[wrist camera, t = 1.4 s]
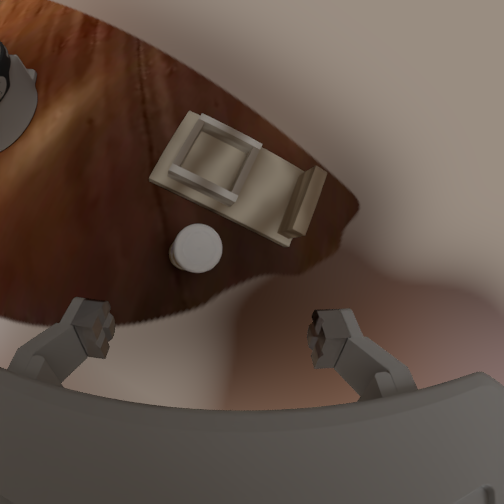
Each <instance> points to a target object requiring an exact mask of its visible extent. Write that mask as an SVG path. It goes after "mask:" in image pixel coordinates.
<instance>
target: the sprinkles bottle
mask: <svg viewBox="0 0 504 504" xmlns="http://www.w3.org/2000/svg"><path fill="white" fill-rule="evenodd" d="M221 255H222V242H221V239H220V237H219V235H218V234H217V232H216V231H215V230H214V229H213V228H211V227H209V226H207V225H204V224H192V225H189V226H187V227H185V228H184V229H183V230H182V231H180V233H179V234H178V235H177V237H176V239H175V241H174V242H173V243H172V245H171V246H170V250H169V257H170V260H171V262H172V264H173V265H174V266H175V267H177V268H178V269H181V270H187V271H189V272H193V273H202V272H206V271H208V270H210V269H212V268H213V267H214V266H215V265H216V264H217V263H218V262H219V260H220V258H221Z"/></svg>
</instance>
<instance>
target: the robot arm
mask: <svg viewBox="0 0 504 504" xmlns="http://www.w3.org/2000/svg"><path fill="white" fill-rule="evenodd" d="M36 77H37V73H36V71H35V70H34V69H26V68H25V66H24V65H23V63H22V62H21V60H20V59H19V57H18V56H17V55H9V54H8V51H7V49H6V47H5V46H4V45H3V44H2V42H1V41H0V151H2V150H4V149H5V148H7V147H8V146H10V145H11V144H12V143H13V142H14V141H15V140H16V139H17V138H18V137H19V136H20V135H21V134H22V133H23V131H24V130H25V129H26V127H27V126H28V124H29V122H30V121H31V119H32V117H33V114H34V112H35V109H36V105H37V91H36V88H35V82H36ZM110 309H111V307H110V305H109V302H108V301H104V300H96V299H89V298H80V297H75V298H74V299H73V300H72V302H71V304H70V305H69V307H68V309H67V311H66V312H65V314H64V316H63V318H62V320H61V321H60V323H56V324H54V325H53V326H51V327H50V328H48V329H47V330H45V331H43V332H42V333H40V334H39V335H38V336H36V337H35V338H33V339H31V340H30V341H29V342H27V343H26V344H24V345H23V346H21V347H20V348H18V350H17V351H16V353H15V355H14V357H13V359H12V361H11V363H10V365H9V367H8V369H4V368H1V367H0V504H504V386H503V385H501V384H500V383H499V382H498V381H496V380H495V379H493V378H492V377H491V376H489V375H487V374H485V373H484V372H476V373H472V374H470V375H466V376H464V377H460V378H458V379H454V380H451V381H448V382H444V383H441V384H438V385H434V386H431V387H427V388H423V389H419V390H418V389H417V386H416V384H415V382H414V380H413V378H412V375H411V373H410V371H409V369H408V367H407V366H405V365H404V364H403V363H401V362H400V361H399V360H397V359H396V358H395V357H393V356H392V355H391V354H389V353H388V352H387V351H385V350H384V349H383V348H381V347H380V346H379V345H377V344H376V343H374V342H373V341H372V340H370V339H369V338H368V337H363V334H362V332H361V330H360V327H359V325H358V323H357V321H356V319H355V316H354V314H353V312H352V310H351V309H326V310H314V312H313V314H312V320H313V322H312V323H311V324H310V325H309V328H308V335H307V338H308V345H309V348H311V349H312V350H313V352H312V355H311V357H312V361H313V365H314V368H315V369H319V368H334V369H335V370H336V371H337V372H338V373H339V374H340V376H342V378H343V379H344V380H345V381H346V382H347V383H348V384H349V385H350V386H351V387H352V388H353V389H354V390H355V391H356V392H357V393H358V394H359V395H360V396H361V397H360V398H359V400H358V401H357V402H353V403H346V404H339V405H331V406H322V407H312V408H300V409H285V410H258V411H257V410H256V411H231V410H228V411H227V410H203V409H188V408H176V407H165V406H157V405H149V404H142V403H134V402H128V401H122V400H117V399H111V398H105V397H100V396H96V395H91V394H87V393H83V392H78V391H74V390H70V389H66V388H64V387H63V386H62V384H61V383H62V382H63V381H64V379H66V378H67V377H68V376H69V375H70V374H71V373H72V372H73V371H74V370H75V369H76V368H77V367H78V366H79V365H80V364H81V363H82V362H83V361H84V360H85V359H86V358H87V356H88V357H95V358H102V359H105V358H106V355H107V353H108V350H109V344H108V341H110V340H111V339H112V338H113V336H114V332H115V321H114V317H113V316H112V315H111V314H110V313H109V311H110Z"/></svg>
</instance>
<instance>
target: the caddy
mask: <svg viewBox="0 0 504 504" xmlns="http://www.w3.org/2000/svg"><path fill="white" fill-rule="evenodd" d="M262 145H263V144H261V143H259V142H258V141H256V140H254V139H252V138H250V137H248V136H246V135H244V134H243V133H241V132H239V131H237V130H235V129H233V128H231V127H229V126H227V125H225V124H223V123H221V122H219V121H217V120H215V119H213V118H211V117H209V116H207V115H205V114H203V113H202V114H201V116H200V115H198V114H195V113H193V112H191V111H189V112H188V113H187V115H186V116H185V118H184V120H183V121H182V123H181V124H180V126H179V127H178V129H177V131H176V132H175V134H174V135H173V137H172V139H171V140H170V142H169V144H168V145H167V147H166V149H165V150H164V152H163V154H162V156H161V157H160V159H159V161H158V163H157V164H156V166H155V168H154V170H153V172H152V173H151V175H150V177H149V181H150V182H152V183H154V184H156V185H158V186H160V187H163V188H165V189H167V190H169V191H171V192H173V193H175V194H177V195H179V196H181V197H183V198H186V199H188V200H190V201H192V202H194V203H196V204H198V205H200V206H202V207H204V208H206V209H208V210H210V211H212V212H215V213H217V214H219V215H221V216H223V217H225V218H227V219H229V220H231V221H233V222H235V223H237V224H239V225H241V226H243V227H245V228H247V229H249V230H251V231H253V232H255V233H257V234H259V235H261V236H263V237H265V238H267V239H269V240H271V241H273V242H275V243H277V244H279V245H281V246H283V247H289V245H290V243H291V240H292V238H295V237H300V236H305V234H306V232H307V229H308V226H309V223H310V221H311V218H312V215H313V212H314V210H315V207H316V204H317V201H318V198H319V195H320V193H321V190H322V187H323V184H324V181H325V178H326V175H327V172H326V171H324V170H322V169H321V168H319V167H318V166H314V167H313V168H311V169H309V170H308V171H306V172H304V171H302V170H301V169H299V168H297V167H296V166H294V165H292V164H291V163H289V162H287V161H285V160H284V159H282V158H280V157H278V156H277V155H275V154H273V153H271V152H270V151H268V150H266V149H264V148H262Z"/></svg>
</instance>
